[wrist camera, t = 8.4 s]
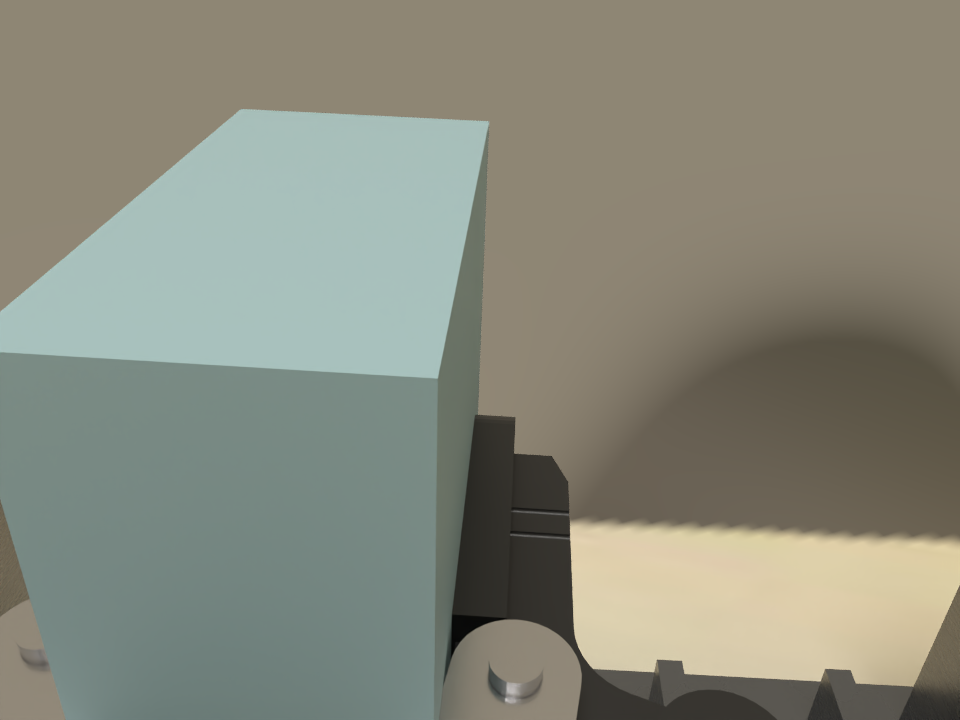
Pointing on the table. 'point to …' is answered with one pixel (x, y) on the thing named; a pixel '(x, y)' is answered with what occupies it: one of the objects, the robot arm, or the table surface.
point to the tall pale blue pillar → (255, 426)
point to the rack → (795, 704)
